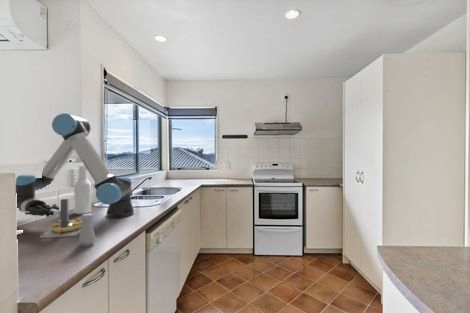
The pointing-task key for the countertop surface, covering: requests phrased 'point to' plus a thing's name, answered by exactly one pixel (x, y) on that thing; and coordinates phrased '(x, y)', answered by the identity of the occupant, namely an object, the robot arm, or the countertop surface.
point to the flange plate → (60, 234)
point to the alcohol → (82, 193)
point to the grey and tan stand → (66, 220)
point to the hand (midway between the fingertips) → (59, 214)
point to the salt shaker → (86, 231)
